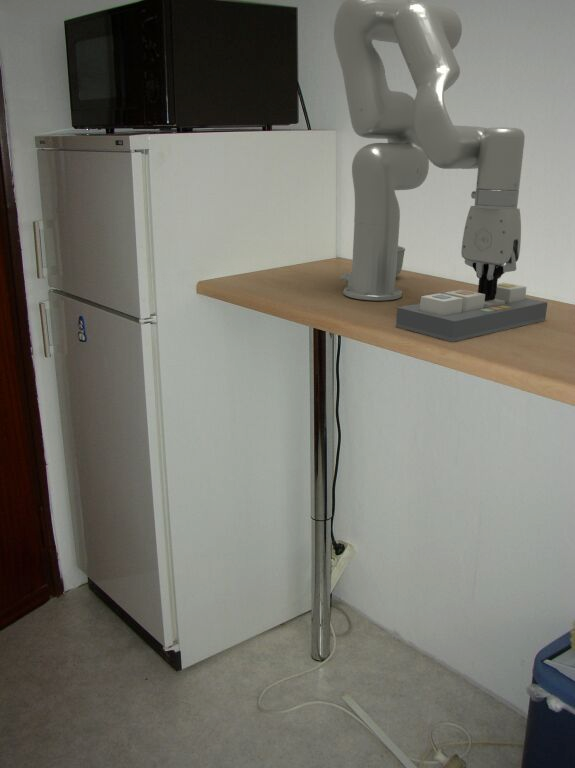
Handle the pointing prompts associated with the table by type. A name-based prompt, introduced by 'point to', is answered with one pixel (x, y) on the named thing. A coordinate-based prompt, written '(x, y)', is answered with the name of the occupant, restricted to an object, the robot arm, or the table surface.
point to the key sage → (493, 303)
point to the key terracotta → (469, 299)
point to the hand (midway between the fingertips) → (486, 299)
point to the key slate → (441, 304)
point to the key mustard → (510, 292)
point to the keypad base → (471, 319)
